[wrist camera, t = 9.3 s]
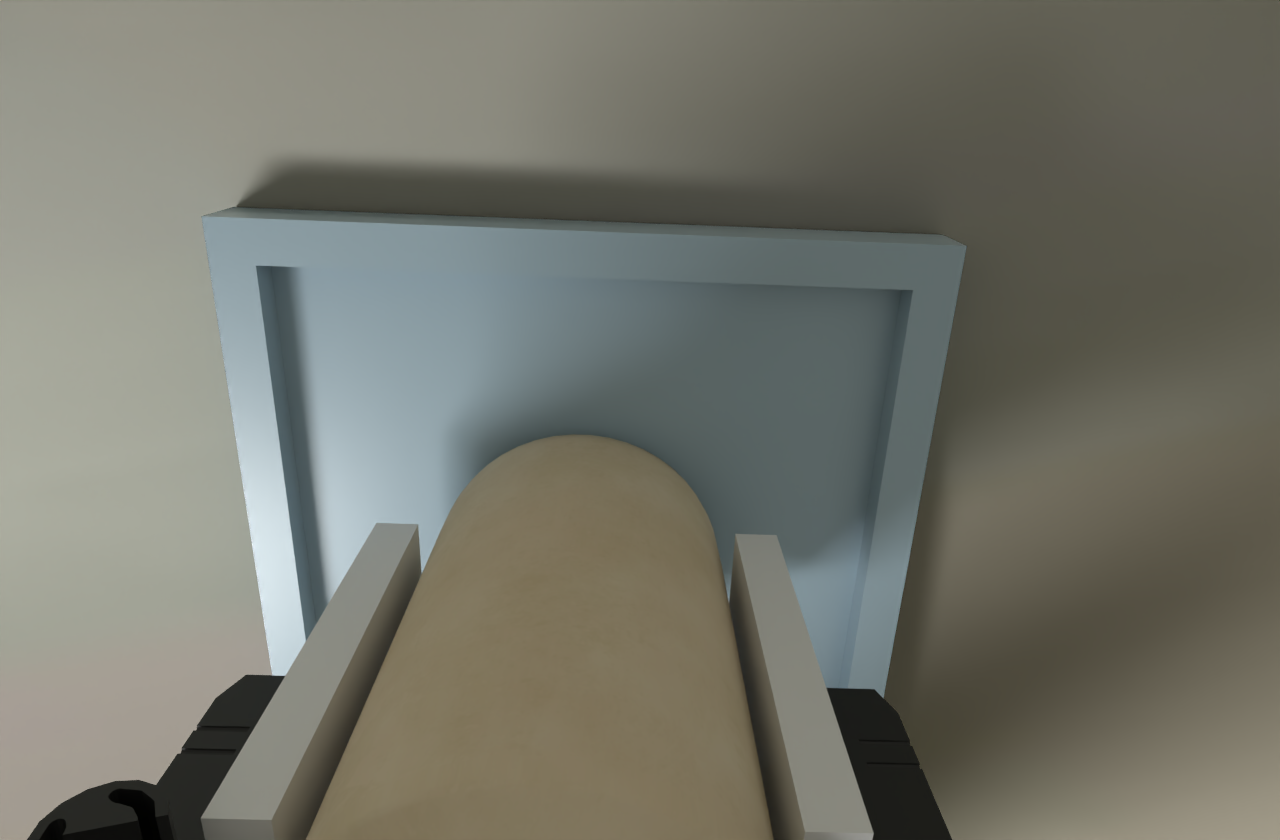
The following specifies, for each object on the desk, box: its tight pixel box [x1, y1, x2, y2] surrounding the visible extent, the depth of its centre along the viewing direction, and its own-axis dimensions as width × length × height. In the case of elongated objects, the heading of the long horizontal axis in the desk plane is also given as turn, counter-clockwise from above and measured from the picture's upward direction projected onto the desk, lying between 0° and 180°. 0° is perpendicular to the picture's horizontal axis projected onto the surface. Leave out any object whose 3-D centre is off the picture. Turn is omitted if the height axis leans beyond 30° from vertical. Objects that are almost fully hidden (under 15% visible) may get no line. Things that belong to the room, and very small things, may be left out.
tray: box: [202, 207, 967, 698], centre depth 17 cm, size 13×13×1 cm
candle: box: [306, 434, 774, 840], centre depth 12 cm, size 6×6×10 cm
